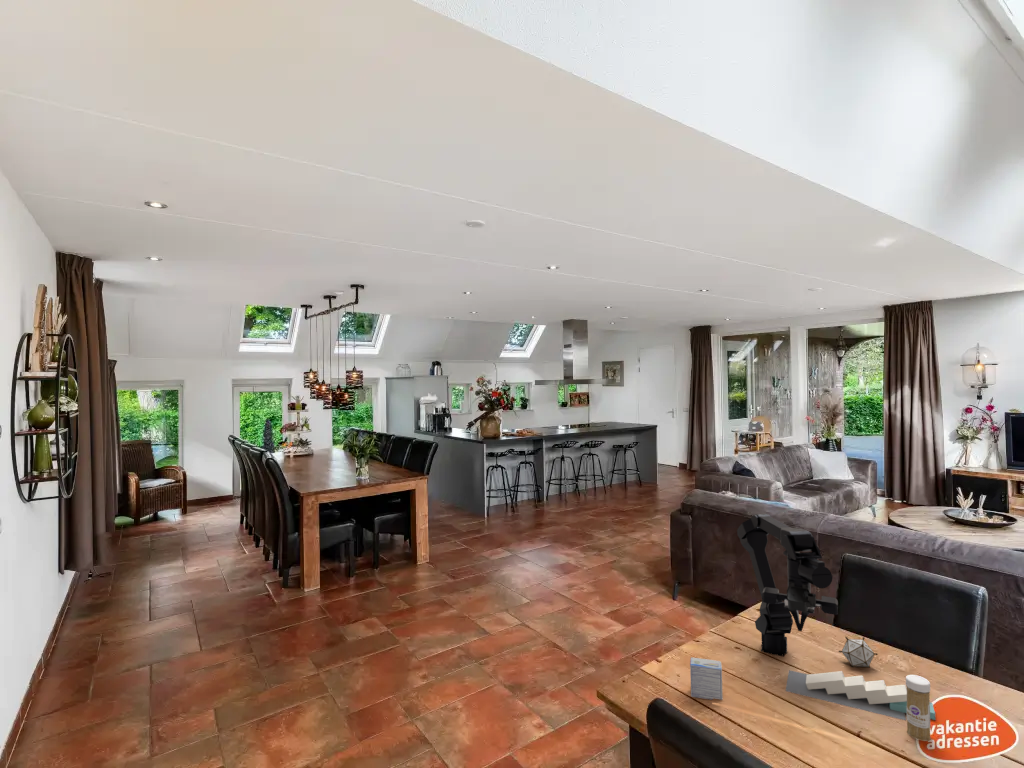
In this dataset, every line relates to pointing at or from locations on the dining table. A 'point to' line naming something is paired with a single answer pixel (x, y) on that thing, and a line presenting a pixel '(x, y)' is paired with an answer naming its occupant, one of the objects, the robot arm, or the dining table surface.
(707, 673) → the medicine box
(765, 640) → the robot arm
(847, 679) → the domino
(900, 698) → the domino
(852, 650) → the game die
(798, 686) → the slate mat
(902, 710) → the domino
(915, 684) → the sprinkles bottle
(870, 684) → the domino
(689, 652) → the dining table surface
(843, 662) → the dining table surface
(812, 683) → the domino
